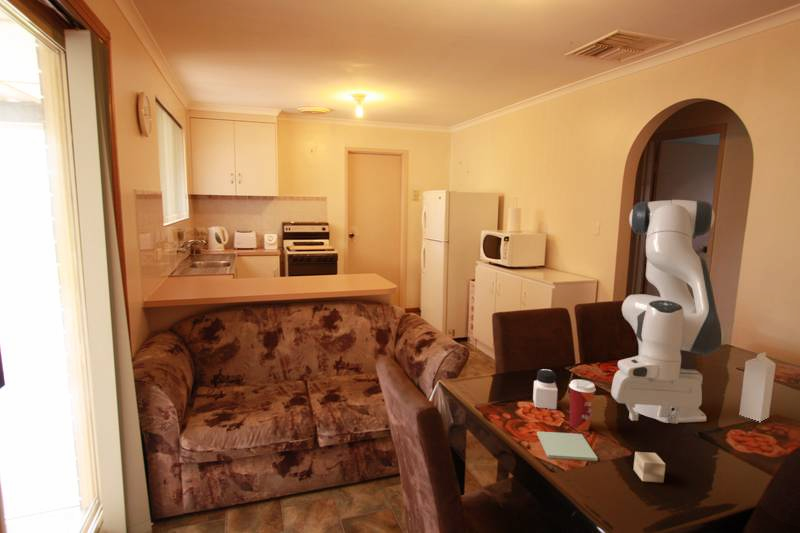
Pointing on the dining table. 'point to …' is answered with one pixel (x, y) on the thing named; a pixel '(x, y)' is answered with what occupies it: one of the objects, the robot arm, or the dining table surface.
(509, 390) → the dining table surface
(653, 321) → the robot arm
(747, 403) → the milk
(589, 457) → the board
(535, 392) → the medicine bottle
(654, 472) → the cube
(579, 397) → the paper cup
